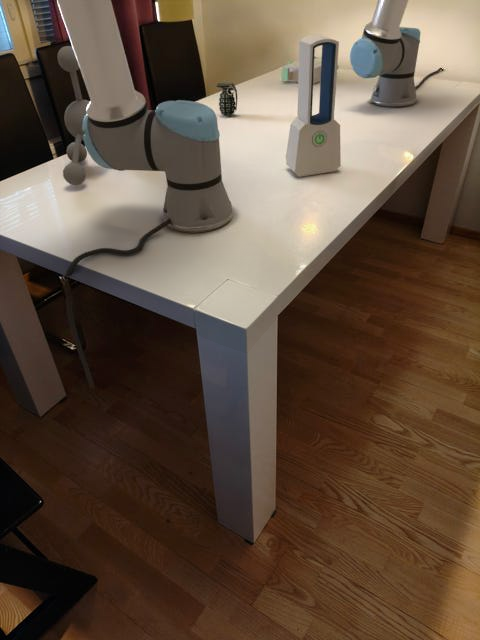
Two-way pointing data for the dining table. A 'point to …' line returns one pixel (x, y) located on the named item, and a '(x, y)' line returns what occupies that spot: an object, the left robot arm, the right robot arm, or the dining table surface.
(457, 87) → the dining table surface
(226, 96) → the grenade
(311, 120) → the electronic device
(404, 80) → the right robot arm
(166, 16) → the canister
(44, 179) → the dining table surface
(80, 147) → the molecular model
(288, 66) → the decorative block
